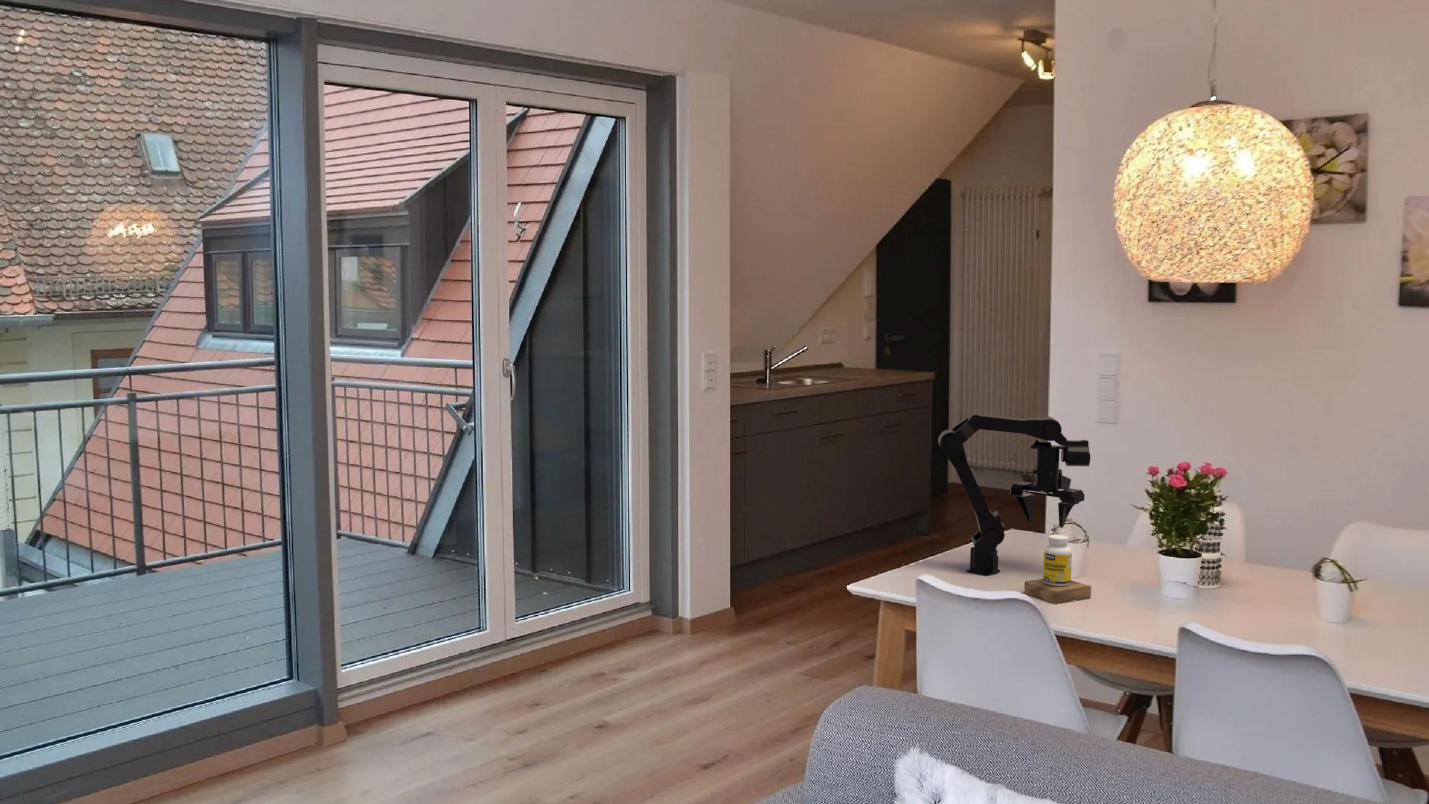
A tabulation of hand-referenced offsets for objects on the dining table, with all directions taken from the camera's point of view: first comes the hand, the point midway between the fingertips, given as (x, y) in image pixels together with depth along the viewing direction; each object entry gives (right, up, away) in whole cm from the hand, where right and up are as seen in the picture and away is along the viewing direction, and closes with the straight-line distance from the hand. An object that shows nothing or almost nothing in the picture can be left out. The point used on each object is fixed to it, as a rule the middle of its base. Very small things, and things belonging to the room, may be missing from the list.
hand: (1045, 524), depth 313 cm
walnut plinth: (-3, -15, -20) cm, 26 cm away
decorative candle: (+37, -14, -9) cm, 41 cm away
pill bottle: (-3, -12, -21) cm, 24 cm away
